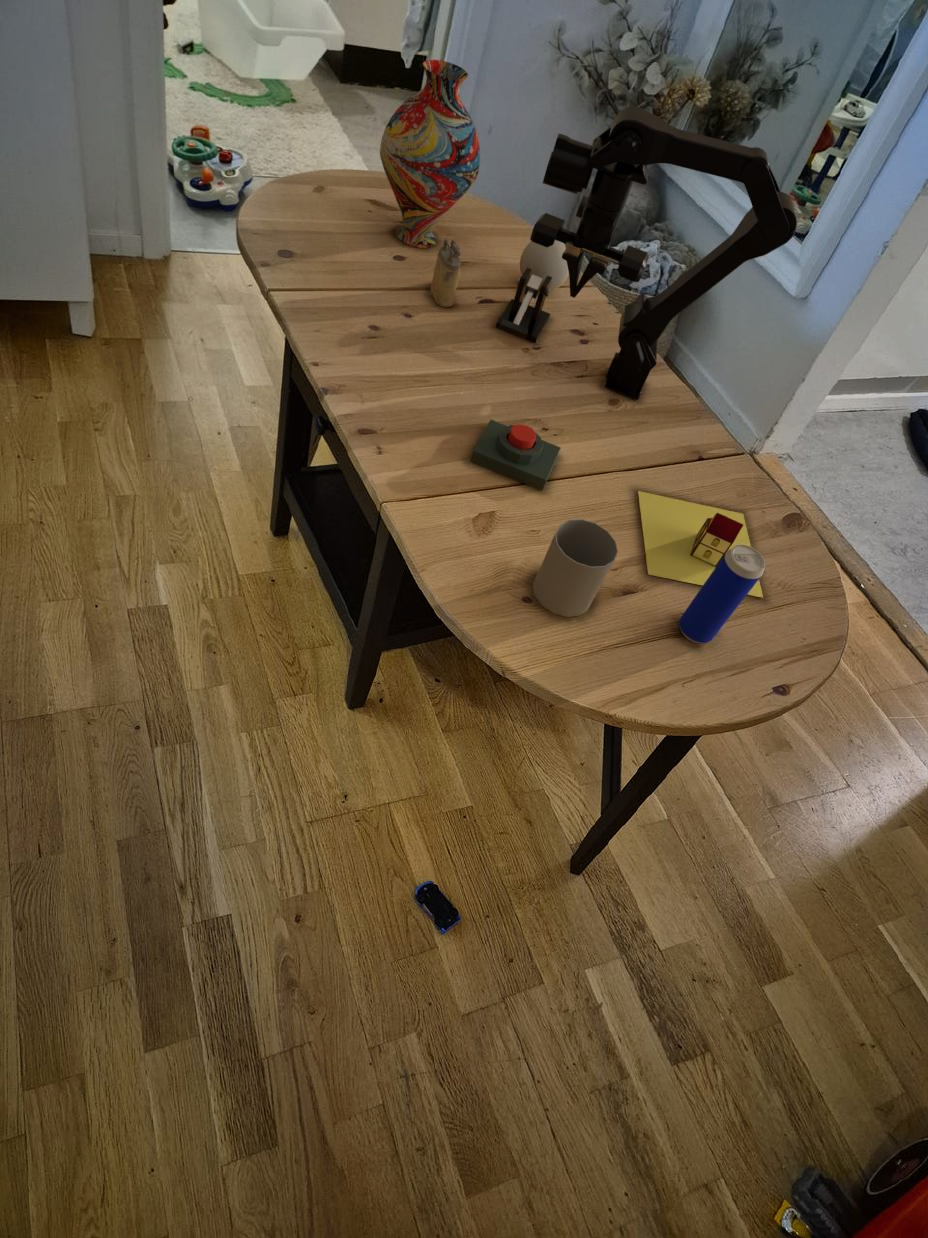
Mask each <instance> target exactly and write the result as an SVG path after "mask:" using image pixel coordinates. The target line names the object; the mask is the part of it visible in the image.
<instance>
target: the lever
mask: <svg viewBox="0 0 928 1238" xmlns="http://www.w3.org/2000/svg"><path fill="white" fill-rule="evenodd" d="M542 281H543V278H540V277H538V276H535V275H533V274H532V275H531V277H530V279H529V281H528V284H527V286H526V290H525V294H524V298H523V301H522V305H521V307H520V309H519V311H518V313H517V315H516V318H515V320H514V322H513V323H512V322H510V321H507V320H505V319H502V321H501V323H500V328H499V329H498V330H500V329H501V330H500V331H502V330H504V331H503V332H505V331H506V332H505V333H507V332H509V333H508V334H510V333H511V334H510V335H512V334H514V335H513V336H515V335H516V336H515V337H517V336H519V337H518V338H520V337H521V338H520V339H522V338H524V339H523V340H525V338H526V336H527V334H528V330H529V329H528V328H525V327H523V326H520V323H521V321H522V319H523V317H524V314H525V312H526V310H527V308H528V306H530V304H531V301H532V300H533V299H536V300H537V298H538V294H539V291H540V288H541V285H542Z"/></svg>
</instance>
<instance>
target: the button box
mask: <svg viewBox="0 0 928 1238" xmlns="http://www.w3.org/2000/svg"><path fill="white" fill-rule="evenodd" d="M514 425H515V424H509V425H506V424H503V423H501V422H499V421H496V420H494V419H490V420H489V422H488V423H487V425H486V427H485V429H484V430H483V432H482V433H481V435H480V437H479V439H478V441H477V443H476V445H475V447H474V448H473V450H472V453H471V457H470V460H469V462H470V463H473V464H475V465H478V466H479V467H483V468H485V469H487V470H490V471H492V472H495V473H498V474H500V475H502V476H504V477H507V478H509V479H513V480H514V481H517V482H519V483H522V484H524V485H527V486H530V487H531V488H534V489H537V490H539V491H541V492H543V491H544V489H545V486H546V484H547V482H548V479H549V477H550V475H551V472H552V470H553V468H554V465H555V463H556V461H557V459H558V456H559V453H560V451H561V449H562V448H561V447H560V446H558V445H555V444H553V443H550V442H548V441H546V440H543V439H542V437H541V436H540V435H539V434H538V433H537V432H535V433H536V439H535V442H534V444H533V447H532V448H531V449H529V450H520V449H518V448H515V447H513V446H512V445H511V444H510V443H509V441H508V436H509V433H510V430H511V428H512V427H513V426H514Z"/></svg>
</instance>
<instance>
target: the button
mask: <svg viewBox="0 0 928 1238" xmlns="http://www.w3.org/2000/svg"><path fill="white" fill-rule="evenodd" d="M513 425H514V426H513V427H512V428H511V430H510V433H509V436H508V441H509V443H510V444H511V445H512V446H513V447H515V448H518V449H520V450H529V449H531V448H532V447H533V444H534V442H535V439H536V433H537V432H536V431H535V430H534V429H533V428H532V427H530V426H528V425H525V424H513Z"/></svg>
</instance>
